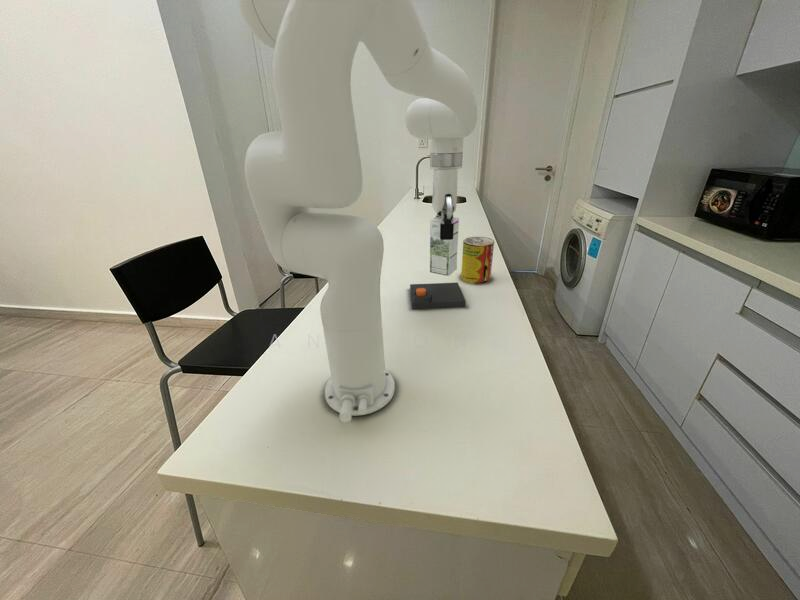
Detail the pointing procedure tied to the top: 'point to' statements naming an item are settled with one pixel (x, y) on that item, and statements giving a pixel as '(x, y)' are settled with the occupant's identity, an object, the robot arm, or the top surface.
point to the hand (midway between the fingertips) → (444, 234)
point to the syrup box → (443, 249)
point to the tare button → (421, 292)
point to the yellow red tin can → (477, 259)
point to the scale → (437, 296)
